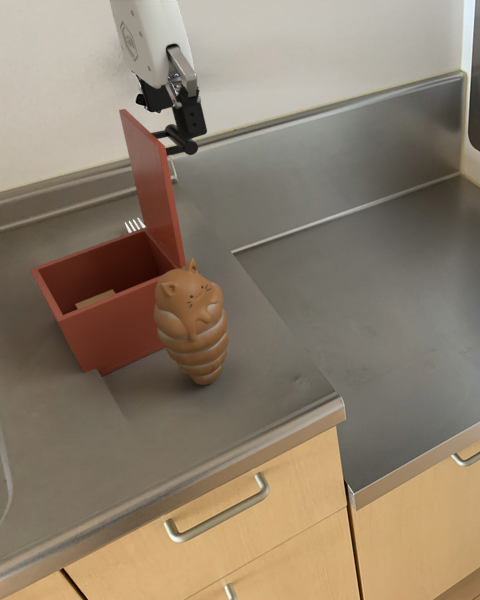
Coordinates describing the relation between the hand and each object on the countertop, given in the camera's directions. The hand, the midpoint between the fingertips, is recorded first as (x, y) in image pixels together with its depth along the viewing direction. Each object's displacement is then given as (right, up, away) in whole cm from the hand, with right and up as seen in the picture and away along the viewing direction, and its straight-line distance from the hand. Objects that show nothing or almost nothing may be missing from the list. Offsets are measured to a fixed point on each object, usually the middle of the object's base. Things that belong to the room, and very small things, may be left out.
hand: (177, 122), depth 74 cm
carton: (-13, -26, +10) cm, 31 cm away
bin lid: (-4, -8, +3) cm, 9 cm away
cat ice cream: (+2, -32, +5) cm, 32 cm away
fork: (-12, -15, +24) cm, 31 cm away
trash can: (-11, -26, +12) cm, 30 cm away
